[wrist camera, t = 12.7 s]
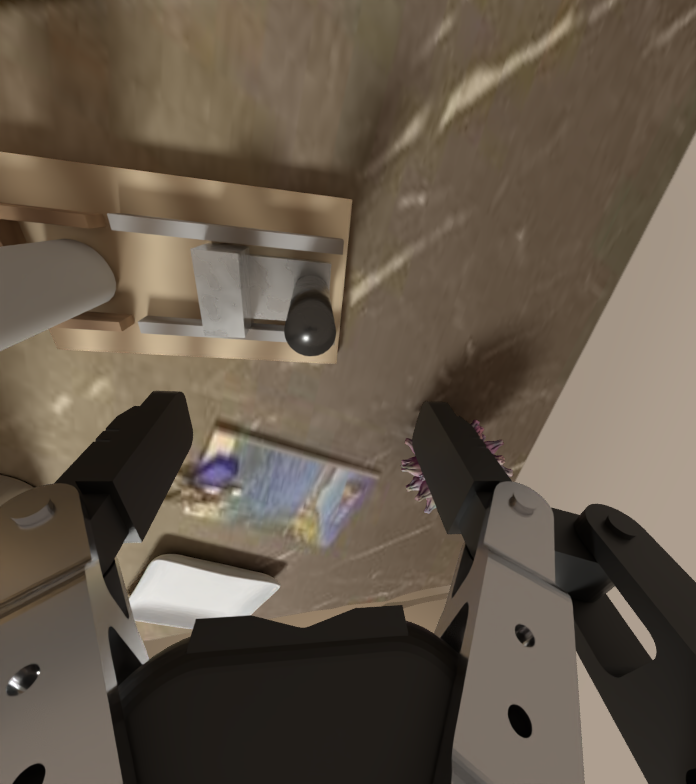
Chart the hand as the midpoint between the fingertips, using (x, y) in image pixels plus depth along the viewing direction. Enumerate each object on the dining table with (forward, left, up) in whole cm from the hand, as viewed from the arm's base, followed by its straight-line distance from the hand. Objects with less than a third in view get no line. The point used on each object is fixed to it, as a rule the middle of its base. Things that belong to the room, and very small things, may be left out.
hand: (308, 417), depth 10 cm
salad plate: (-17, -54, -20) cm, 60 cm away
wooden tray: (-10, 0, -20) cm, 22 cm away
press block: (-3, 0, -18) cm, 18 cm away
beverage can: (-18, 0, -18) cm, 25 cm away
